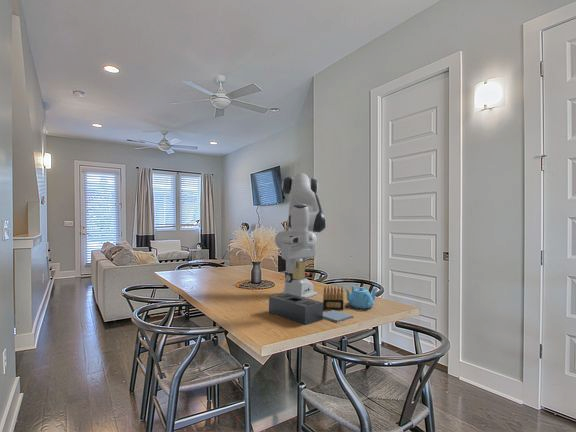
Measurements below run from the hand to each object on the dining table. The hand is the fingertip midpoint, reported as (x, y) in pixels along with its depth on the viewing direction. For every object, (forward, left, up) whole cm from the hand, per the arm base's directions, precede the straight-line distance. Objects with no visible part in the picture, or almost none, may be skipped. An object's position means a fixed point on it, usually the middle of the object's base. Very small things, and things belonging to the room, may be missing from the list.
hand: (298, 267), depth 153 cm
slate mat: (-13, +12, -23) cm, 29 cm away
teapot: (-40, +8, -23) cm, 47 cm away
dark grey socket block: (+1, -1, -23) cm, 23 cm away
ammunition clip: (-23, +3, -23) cm, 33 cm away
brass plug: (0, 0, -5) cm, 5 cm away
